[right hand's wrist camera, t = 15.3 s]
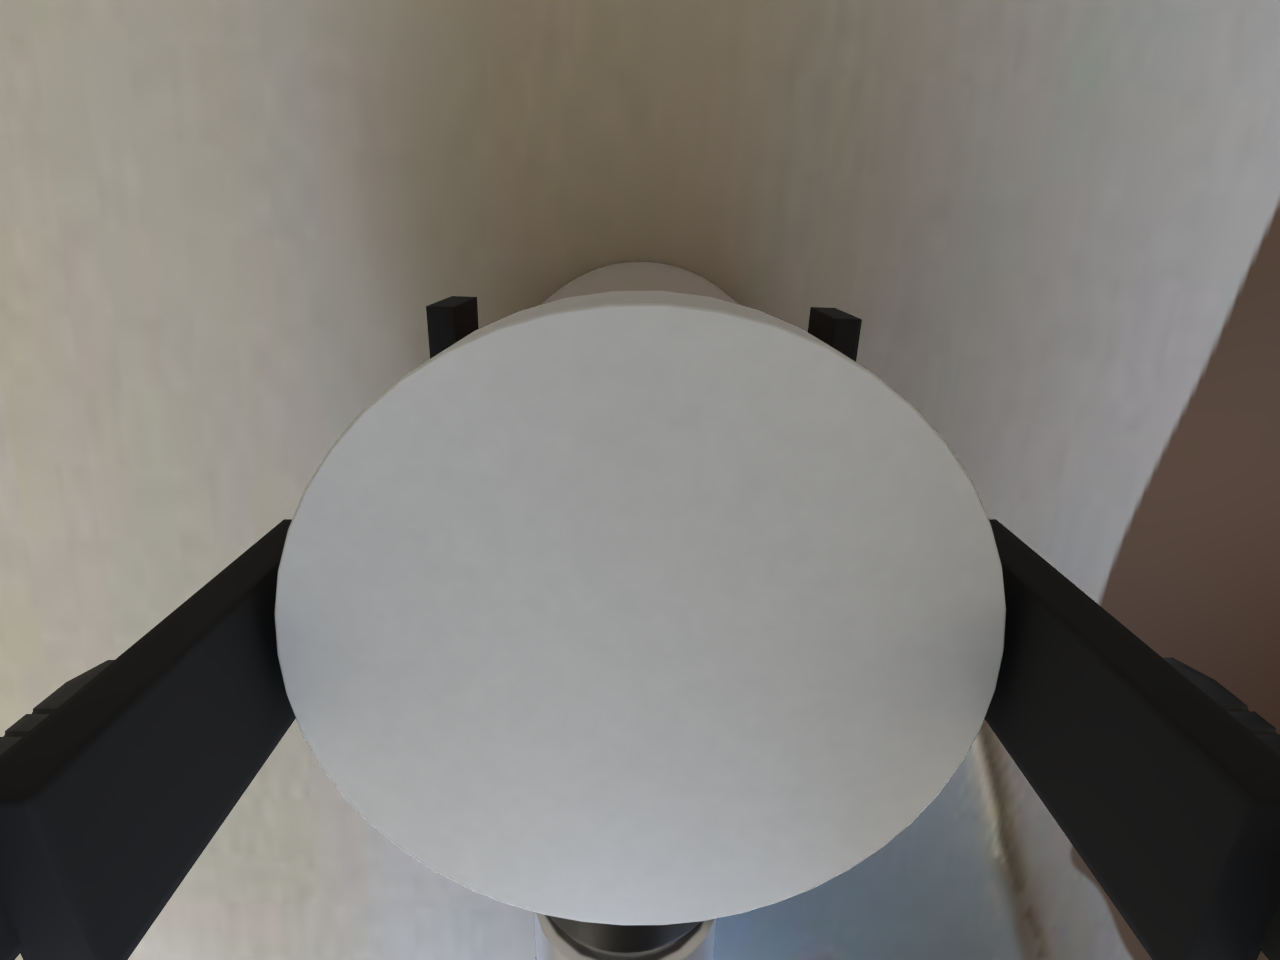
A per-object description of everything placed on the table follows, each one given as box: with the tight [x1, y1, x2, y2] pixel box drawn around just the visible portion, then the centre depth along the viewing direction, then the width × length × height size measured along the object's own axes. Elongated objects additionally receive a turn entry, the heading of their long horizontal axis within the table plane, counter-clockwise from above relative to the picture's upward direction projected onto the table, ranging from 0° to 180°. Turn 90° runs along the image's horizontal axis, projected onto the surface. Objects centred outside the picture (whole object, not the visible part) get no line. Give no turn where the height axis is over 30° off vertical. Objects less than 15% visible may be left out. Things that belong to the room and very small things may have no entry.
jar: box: [540, 262, 740, 305], centre depth 19 cm, size 10×10×17 cm
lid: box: [274, 291, 1006, 925], centre depth 11 cm, size 11×11×2 cm
